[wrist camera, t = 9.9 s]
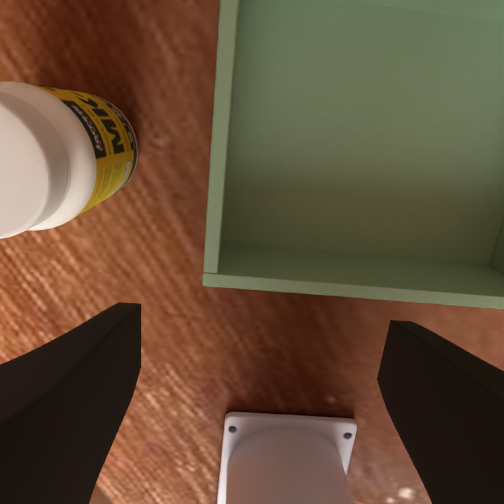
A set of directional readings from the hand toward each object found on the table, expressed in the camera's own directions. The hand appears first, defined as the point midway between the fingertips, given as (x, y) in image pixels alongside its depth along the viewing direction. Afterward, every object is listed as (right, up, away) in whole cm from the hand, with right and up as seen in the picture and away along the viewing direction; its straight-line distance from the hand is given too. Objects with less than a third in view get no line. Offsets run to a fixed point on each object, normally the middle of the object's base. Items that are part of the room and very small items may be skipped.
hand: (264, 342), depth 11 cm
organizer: (+6, +8, +7) cm, 12 cm away
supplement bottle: (-8, +8, +7) cm, 13 cm away
